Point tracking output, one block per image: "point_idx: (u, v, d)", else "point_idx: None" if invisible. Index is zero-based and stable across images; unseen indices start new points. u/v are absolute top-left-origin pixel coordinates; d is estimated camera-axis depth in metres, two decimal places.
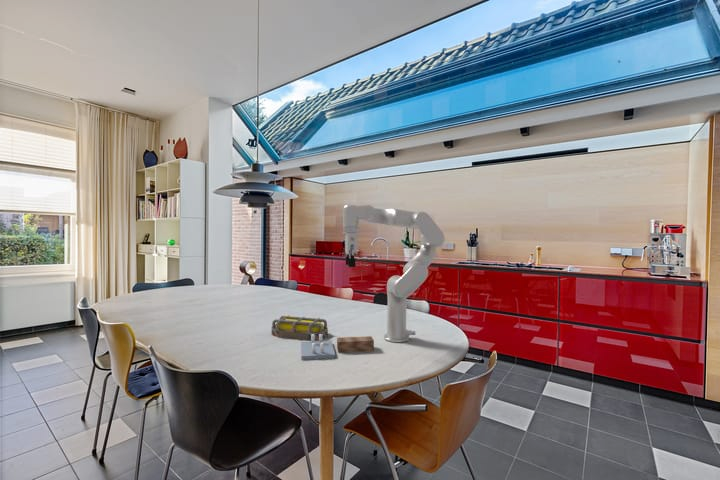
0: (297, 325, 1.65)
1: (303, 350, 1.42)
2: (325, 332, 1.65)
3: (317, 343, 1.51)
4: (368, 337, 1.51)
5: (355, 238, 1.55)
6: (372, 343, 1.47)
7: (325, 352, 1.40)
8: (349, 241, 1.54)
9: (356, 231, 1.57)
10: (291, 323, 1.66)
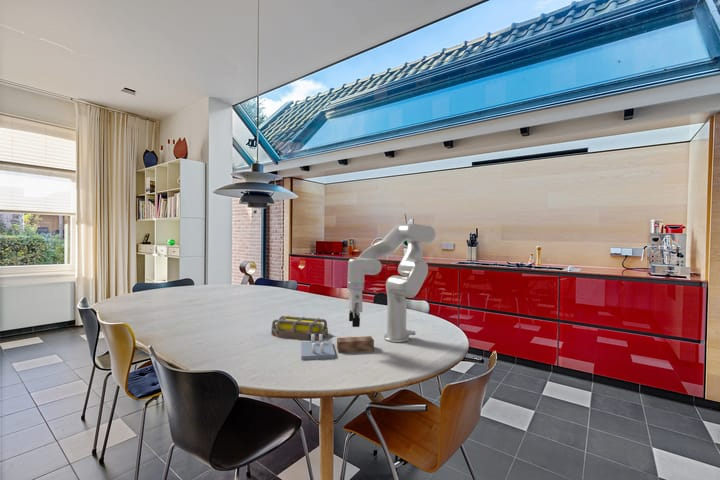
0: (297, 325, 1.65)
1: (303, 350, 1.42)
2: (325, 332, 1.65)
3: (317, 343, 1.51)
4: (368, 337, 1.51)
5: (360, 296, 1.43)
6: (372, 343, 1.47)
7: (325, 352, 1.40)
8: (354, 299, 1.43)
9: (361, 287, 1.45)
10: (291, 323, 1.66)
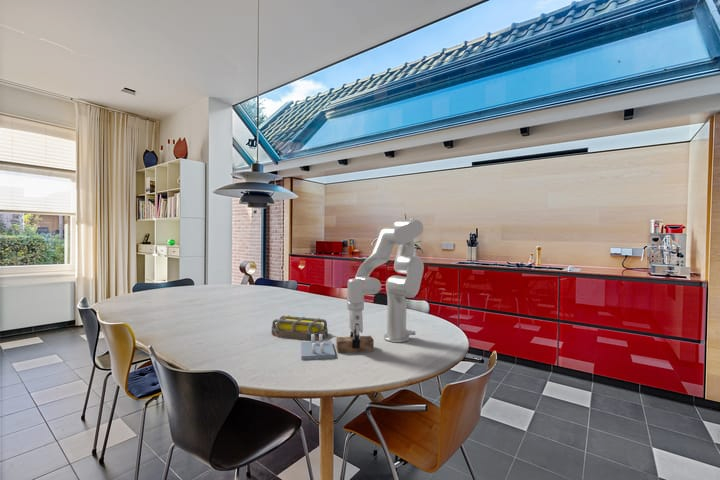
0: (297, 325, 1.65)
1: (303, 350, 1.42)
2: (325, 332, 1.64)
3: (317, 343, 1.51)
4: (367, 336, 1.51)
5: (360, 316, 1.44)
6: (372, 342, 1.47)
7: (325, 352, 1.40)
8: (354, 320, 1.43)
9: (361, 308, 1.46)
10: (291, 323, 1.66)
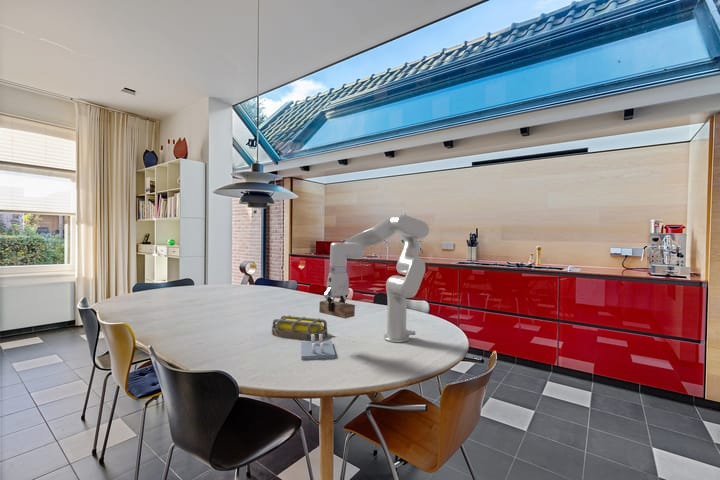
0: (296, 325, 1.65)
1: (303, 350, 1.42)
2: (324, 333, 1.64)
3: (317, 343, 1.51)
4: (349, 304, 1.43)
5: (332, 279, 1.42)
6: (344, 309, 1.39)
7: (325, 352, 1.40)
8: (327, 282, 1.43)
9: (337, 271, 1.43)
10: (291, 323, 1.66)
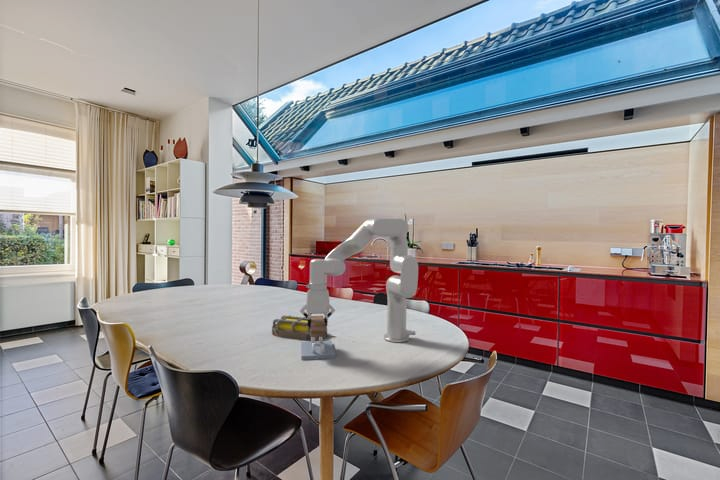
0: (296, 325, 1.65)
1: (303, 350, 1.42)
2: None
3: (317, 343, 1.51)
4: (321, 324, 1.39)
5: (307, 296, 1.43)
6: (311, 328, 1.37)
7: (325, 352, 1.40)
8: None
9: (311, 288, 1.42)
10: (291, 323, 1.66)
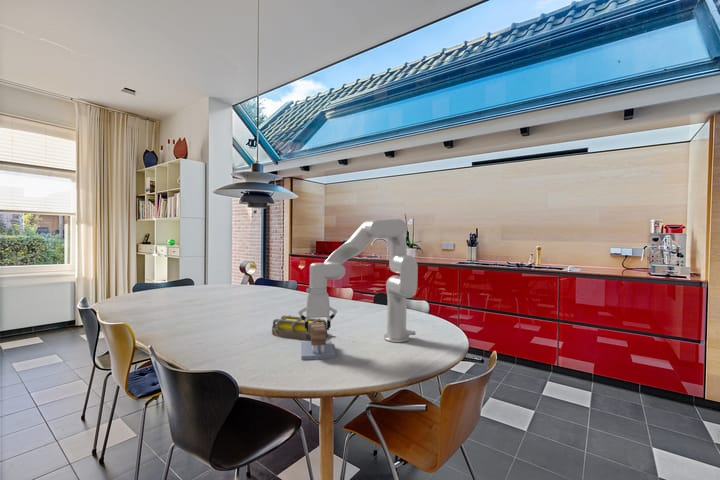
0: (296, 325, 1.65)
1: (303, 350, 1.42)
2: None
3: None
4: (322, 331, 1.39)
5: (307, 300, 1.43)
6: (311, 336, 1.38)
7: (325, 352, 1.40)
8: None
9: (311, 292, 1.42)
10: (291, 323, 1.66)
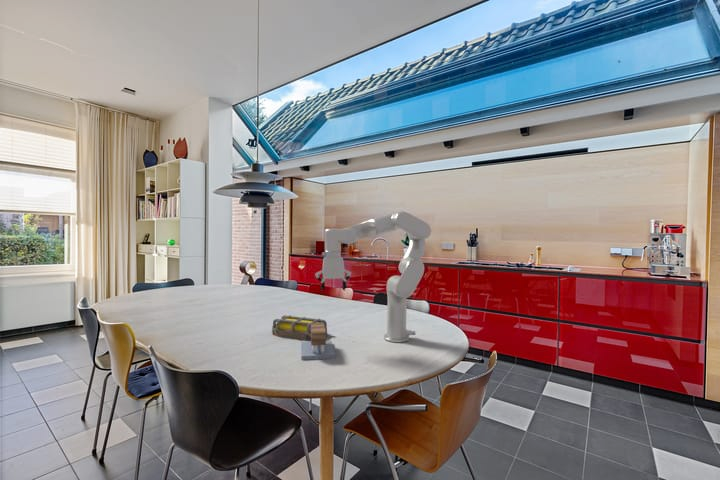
0: (296, 325, 1.65)
1: (303, 350, 1.42)
2: None
3: None
4: (322, 331, 1.39)
5: (323, 263, 1.53)
6: (311, 336, 1.38)
7: (325, 352, 1.40)
8: None
9: (327, 255, 1.52)
10: (290, 323, 1.66)
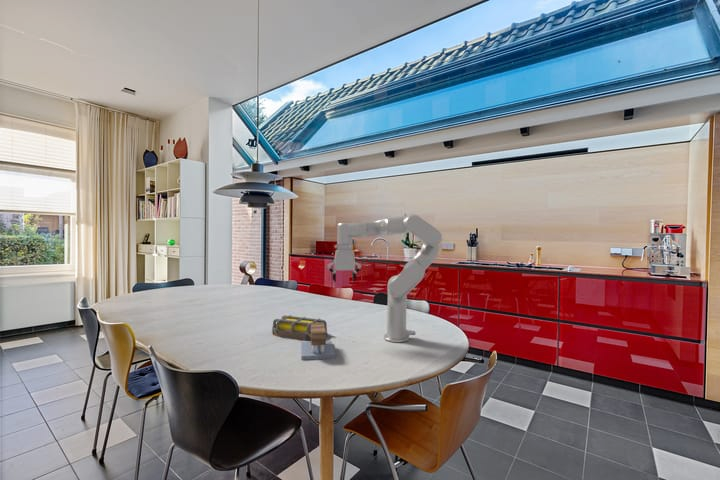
0: (296, 325, 1.65)
1: (303, 350, 1.42)
2: None
3: None
4: (322, 331, 1.39)
5: (335, 254, 1.62)
6: (311, 336, 1.38)
7: (325, 352, 1.40)
8: None
9: (339, 248, 1.62)
10: (290, 323, 1.66)
